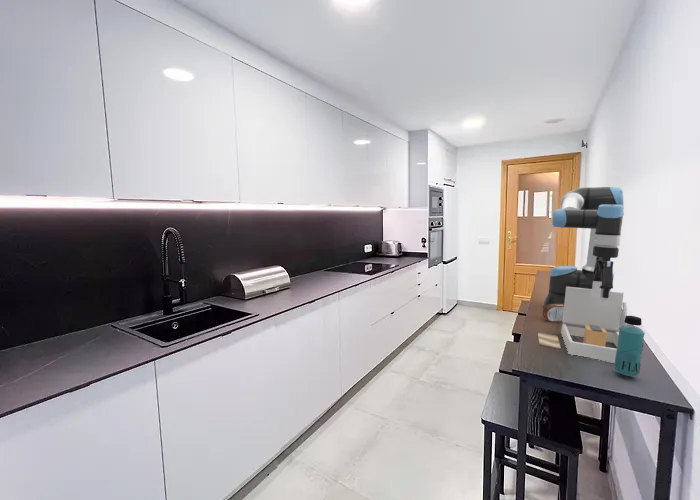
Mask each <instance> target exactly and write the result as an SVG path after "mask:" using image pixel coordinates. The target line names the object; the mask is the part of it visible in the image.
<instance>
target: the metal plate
mask: <svg viewBox="0 0 700 500" xmlns="http://www.w3.org/2000/svg"><path fill="white" fill-rule="evenodd" d="M537 338H538V344H539V346H543V347H546V348H547V347H548V348H551V349H552V348H553V349H558V348H559V350H562V347H561V344H560V341H559V337H558V335H556V334H550V333H549V334H548V333H542V332H537Z"/></svg>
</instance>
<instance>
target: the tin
mask: <svg viewBox="0 0 700 500" xmlns="http://www.w3.org/2000/svg"><path fill="white" fill-rule="evenodd" d="M563 312H564V304H549V305H547V306H546V307H544V308H543V309H542V317H543V319H544V320H547V321H548V322H551V323H555V322H557V321H563Z"/></svg>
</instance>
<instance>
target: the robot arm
mask: <svg viewBox="0 0 700 500" xmlns="http://www.w3.org/2000/svg"><path fill="white" fill-rule="evenodd" d="M624 204H625V203H624V192H623V189H622V188H621V187H620V186H619V187H615V186H599V187H598V186H597V187H596V186H595V187H593V186H592V187H579V188H575V189H573V190H570V191H568V192H565V194H563V195H562V197H561V199H560V208H556V209H554V210H553V213H552V222H551V223H552V226H553V227H555V228H561V229H562V228H570V229H575V228H576V229H588V230H589V229H590V231H589V232H590V233H589V241H588V249H587V257H586V263H585V265H583V266H582V267H581V269H578V267H577V266H573V265H559V266H558V265H557V266H553V267H552V268H551V270H550V274H549V283H548V284H549V286H548V292H547V295H546V297H545V299H544V301H543V307H544V308H545V307H546V306H547V305H549V304H564V303H565V294H566V287H575V288H585V289H592V294H591V297H595V298H600V299H599V306H605V307H608V306H609V298H610V291H611V290H612V289H613V288H614V285H613V284H614V278H615V274H614V268H613V267H614V261H611V259H617V258H618V257H619V251H620V250H619V249H620V248H619V246H620V245H621V244H620V243H621V237H622V235H621V233H622V226H623V219H624V215H625V212H624V210H625V207H624Z"/></svg>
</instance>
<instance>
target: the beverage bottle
mask: <svg viewBox="0 0 700 500" xmlns="http://www.w3.org/2000/svg"><path fill="white" fill-rule="evenodd" d="M624 322H625V323H627V324H628V325H624V324H623V325H622V326H619V336H618V344H617V347H616V349H617V351H616V355H615V356H616V358H615V363H614V371H615V372H617V373H619V374H621V375H624V376H628V377H638V376H639V375H640V371H641V364H642V362H641V361H642V358H643V357H642V355H643V348H644V345H645V344H644V341H645V339H644V338H645V331H644V330H643V329H642V328H641V327H640V326H642V323H643V322H642V318H641V317H638V316H635V315H627V316H626V317H625V320H624Z"/></svg>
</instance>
